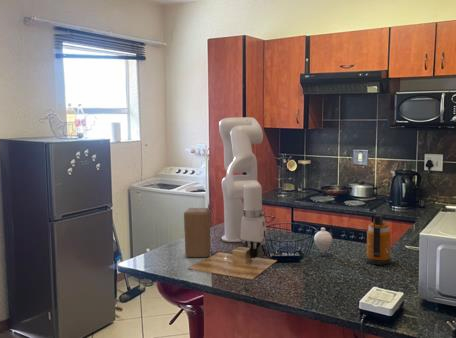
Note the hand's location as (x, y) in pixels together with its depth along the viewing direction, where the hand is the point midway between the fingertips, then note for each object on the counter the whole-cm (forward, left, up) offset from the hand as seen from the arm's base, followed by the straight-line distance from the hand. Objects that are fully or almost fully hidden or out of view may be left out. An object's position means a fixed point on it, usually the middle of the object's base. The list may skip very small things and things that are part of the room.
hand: (253, 257), depth 184 cm
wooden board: (+6, -6, -2) cm, 9 cm away
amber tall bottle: (-20, +46, -3) cm, 50 cm away
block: (0, -27, -3) cm, 27 cm away
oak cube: (0, -5, -2) cm, 6 cm away
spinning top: (-21, +23, -3) cm, 31 cm away
